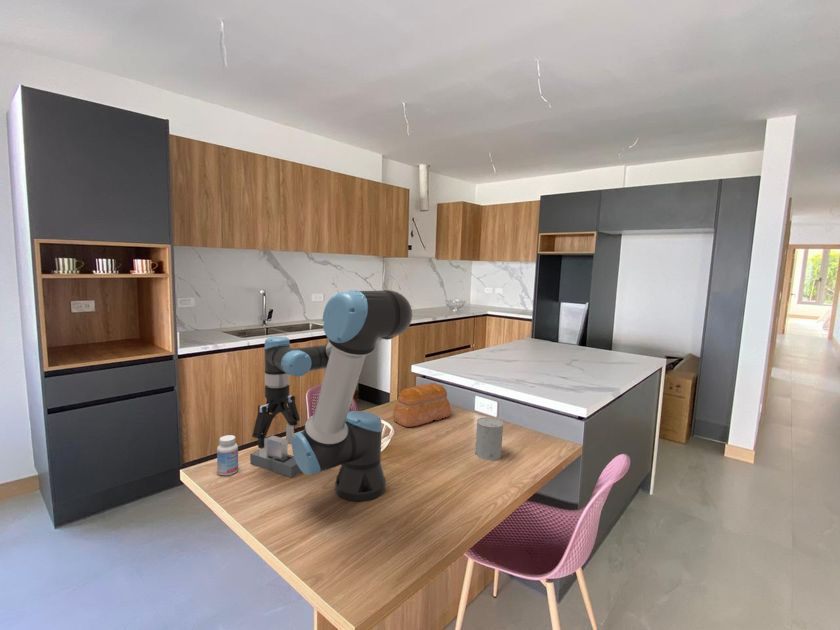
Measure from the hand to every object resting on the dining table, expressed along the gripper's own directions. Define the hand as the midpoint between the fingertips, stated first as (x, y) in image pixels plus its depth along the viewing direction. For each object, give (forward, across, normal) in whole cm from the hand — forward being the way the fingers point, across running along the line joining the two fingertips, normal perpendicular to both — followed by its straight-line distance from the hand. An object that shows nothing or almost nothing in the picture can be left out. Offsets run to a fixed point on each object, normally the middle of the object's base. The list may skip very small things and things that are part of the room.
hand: (277, 449), depth 139 cm
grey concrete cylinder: (+6, -46, +58) cm, 74 cm away
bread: (+6, -65, +21) cm, 69 cm away
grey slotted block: (+6, 0, 0) cm, 6 cm away
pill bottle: (+6, +10, -11) cm, 16 cm away
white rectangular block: (+5, 0, 0) cm, 5 cm away
